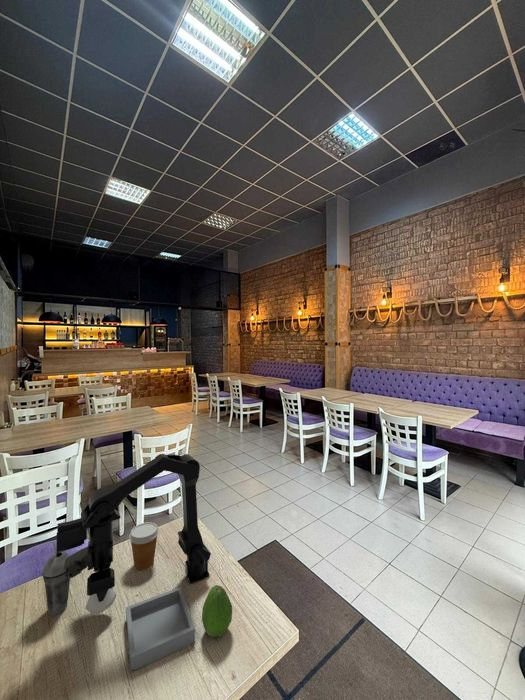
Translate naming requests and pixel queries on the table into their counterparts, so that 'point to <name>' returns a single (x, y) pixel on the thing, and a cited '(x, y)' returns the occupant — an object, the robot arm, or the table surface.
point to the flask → (97, 606)
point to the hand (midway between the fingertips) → (101, 593)
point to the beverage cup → (56, 582)
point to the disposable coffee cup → (144, 545)
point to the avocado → (216, 612)
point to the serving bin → (158, 628)
